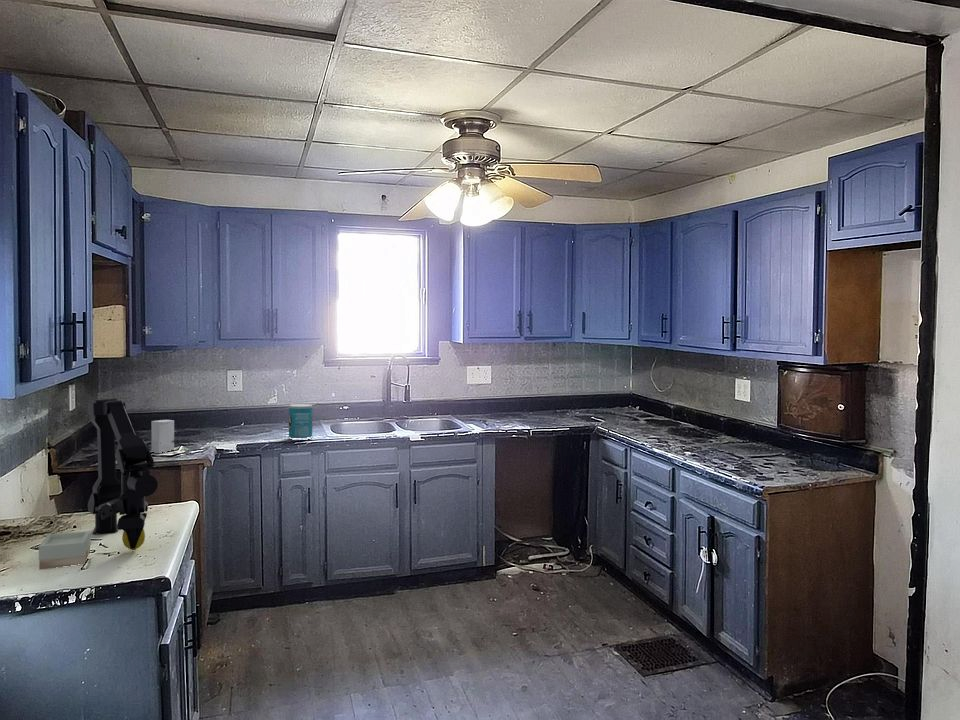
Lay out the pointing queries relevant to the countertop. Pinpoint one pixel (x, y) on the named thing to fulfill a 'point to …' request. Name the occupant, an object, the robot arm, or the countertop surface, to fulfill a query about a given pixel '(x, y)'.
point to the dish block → (64, 545)
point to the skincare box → (162, 436)
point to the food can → (300, 420)
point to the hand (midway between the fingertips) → (133, 544)
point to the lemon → (139, 543)
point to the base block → (63, 561)
